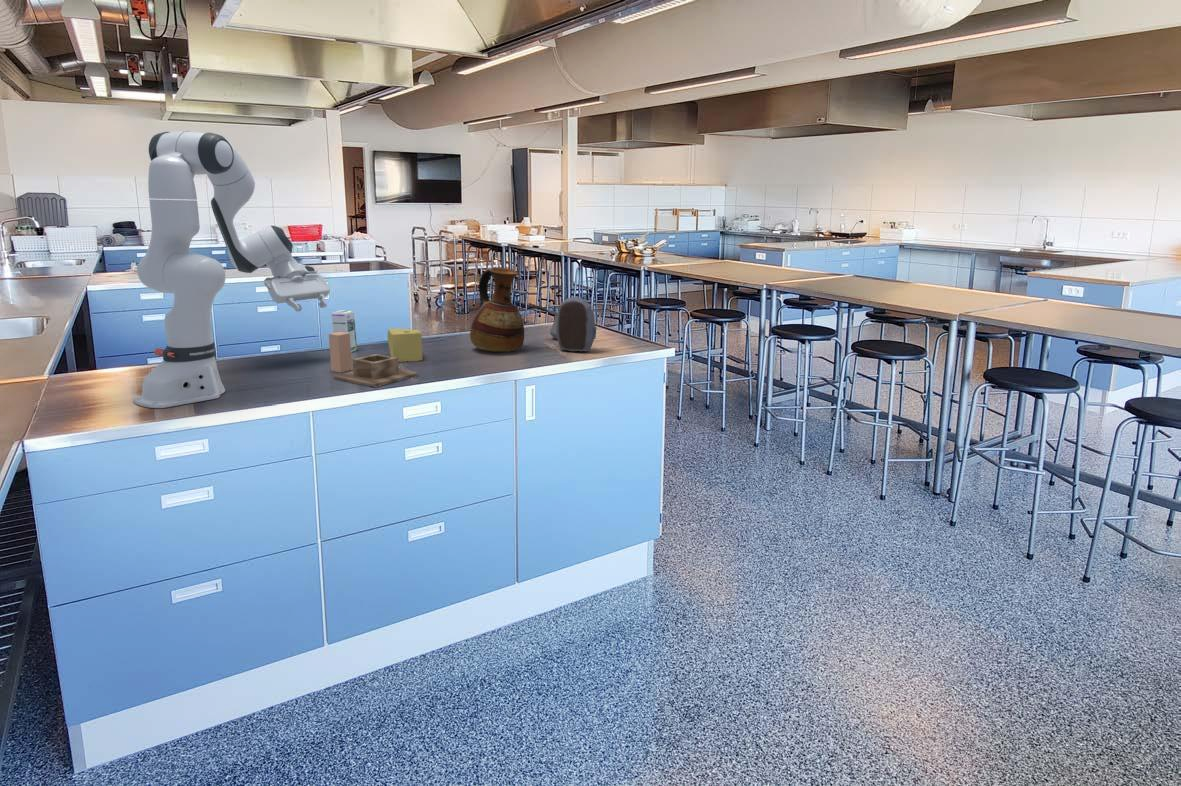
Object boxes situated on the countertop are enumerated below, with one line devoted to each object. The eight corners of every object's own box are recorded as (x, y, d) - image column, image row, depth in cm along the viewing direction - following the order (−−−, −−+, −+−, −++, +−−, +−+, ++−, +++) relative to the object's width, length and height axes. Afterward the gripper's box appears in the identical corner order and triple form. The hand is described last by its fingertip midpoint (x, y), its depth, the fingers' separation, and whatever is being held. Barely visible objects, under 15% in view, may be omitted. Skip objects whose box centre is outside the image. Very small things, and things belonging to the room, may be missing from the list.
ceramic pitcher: (502, 358, 257) (501, 271, 250) (458, 351, 268) (456, 268, 260) (535, 348, 274) (535, 267, 266) (493, 342, 284) (491, 263, 276)
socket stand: (374, 387, 217) (373, 367, 215) (333, 379, 226) (331, 359, 224) (418, 375, 231) (417, 357, 230) (378, 368, 240) (377, 350, 239)
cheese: (419, 354, 261) (417, 326, 258) (423, 361, 251) (422, 332, 249) (388, 356, 257) (387, 328, 255) (392, 363, 248) (390, 334, 245)
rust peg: (340, 372, 234) (338, 335, 231) (331, 370, 236) (328, 333, 233) (352, 370, 237) (349, 333, 234) (342, 368, 240) (340, 331, 237)
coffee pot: (571, 335, 300) (572, 298, 296) (583, 340, 290) (583, 302, 286) (522, 338, 292) (521, 301, 288) (532, 344, 282) (532, 305, 278)
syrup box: (349, 353, 261) (346, 312, 257) (334, 352, 262) (330, 312, 258) (357, 350, 266) (354, 310, 263) (342, 349, 268) (339, 309, 264)
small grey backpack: (553, 351, 270) (553, 296, 265) (561, 347, 277) (561, 293, 272) (592, 354, 265) (593, 299, 260) (599, 350, 273) (600, 296, 268)
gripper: (264, 271, 230) (287, 305, 228) (319, 266, 247) (341, 298, 244) (257, 285, 234) (280, 318, 231) (312, 279, 250) (333, 310, 248)
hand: (312, 308), depth 238 cm, fingers open, 8 cm apart
